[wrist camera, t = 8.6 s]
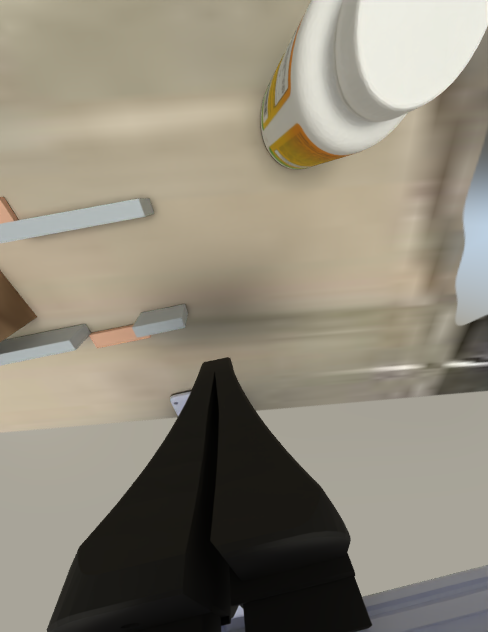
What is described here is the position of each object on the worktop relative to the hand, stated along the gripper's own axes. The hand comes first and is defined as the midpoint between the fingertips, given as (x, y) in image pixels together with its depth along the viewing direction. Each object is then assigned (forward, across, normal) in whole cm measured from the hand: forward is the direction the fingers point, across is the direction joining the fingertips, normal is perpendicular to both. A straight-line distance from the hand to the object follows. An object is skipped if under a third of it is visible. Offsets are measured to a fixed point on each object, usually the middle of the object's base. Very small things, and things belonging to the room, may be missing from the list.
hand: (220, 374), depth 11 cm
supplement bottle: (+10, -8, -11) cm, 17 cm away
